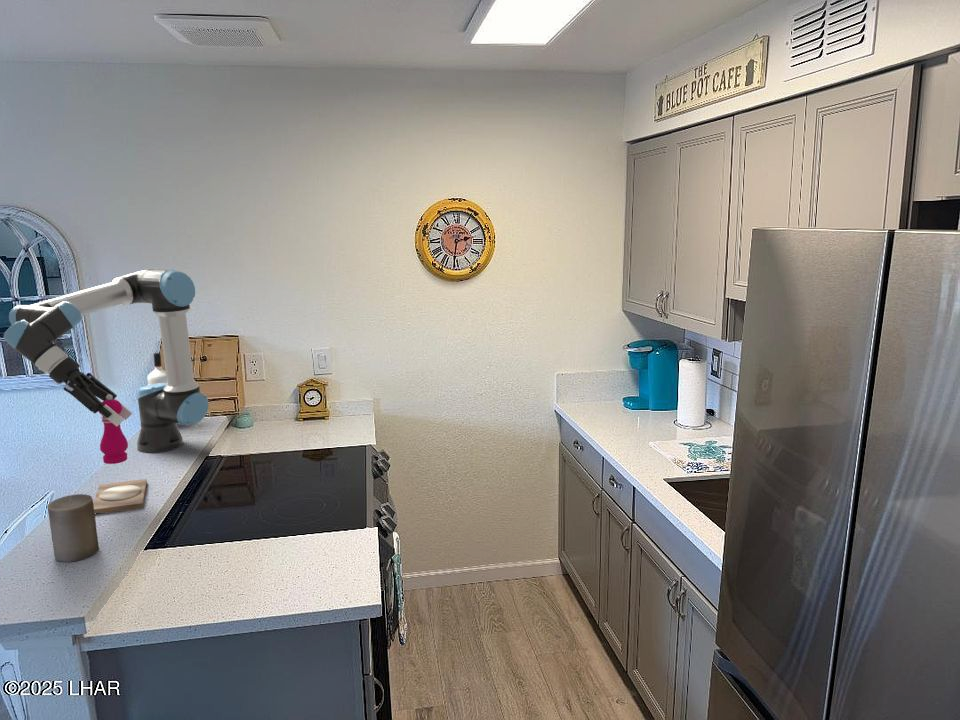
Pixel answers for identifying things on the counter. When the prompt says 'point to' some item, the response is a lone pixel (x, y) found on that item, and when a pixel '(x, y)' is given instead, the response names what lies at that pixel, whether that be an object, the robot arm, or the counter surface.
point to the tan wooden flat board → (120, 496)
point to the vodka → (157, 371)
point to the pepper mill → (113, 436)
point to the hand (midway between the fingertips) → (124, 419)
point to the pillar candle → (73, 527)
